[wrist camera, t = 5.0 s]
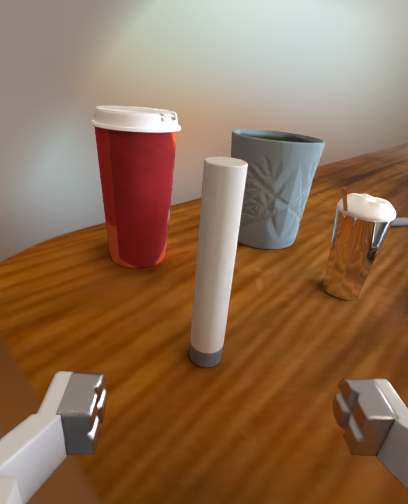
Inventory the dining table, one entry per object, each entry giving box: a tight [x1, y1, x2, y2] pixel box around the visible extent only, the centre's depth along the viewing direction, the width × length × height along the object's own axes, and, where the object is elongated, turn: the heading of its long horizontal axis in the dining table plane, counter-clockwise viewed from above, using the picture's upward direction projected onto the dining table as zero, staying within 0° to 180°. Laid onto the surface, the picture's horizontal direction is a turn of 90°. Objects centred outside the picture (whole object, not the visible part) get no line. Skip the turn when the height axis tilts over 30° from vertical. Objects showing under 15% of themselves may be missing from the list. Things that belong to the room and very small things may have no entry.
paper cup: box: [91, 106, 181, 268], centre depth 32 cm, size 8×8×14 cm
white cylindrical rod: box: [189, 157, 248, 367], centre depth 20 cm, size 2×2×13 cm
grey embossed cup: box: [231, 129, 325, 249], centre depth 40 cm, size 10×10×12 cm
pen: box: [391, 218, 408, 226], centre depth 50 cm, size 1×16×1 cm, turn 103°
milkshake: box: [323, 188, 396, 300], centre depth 29 cm, size 4×5×10 cm
